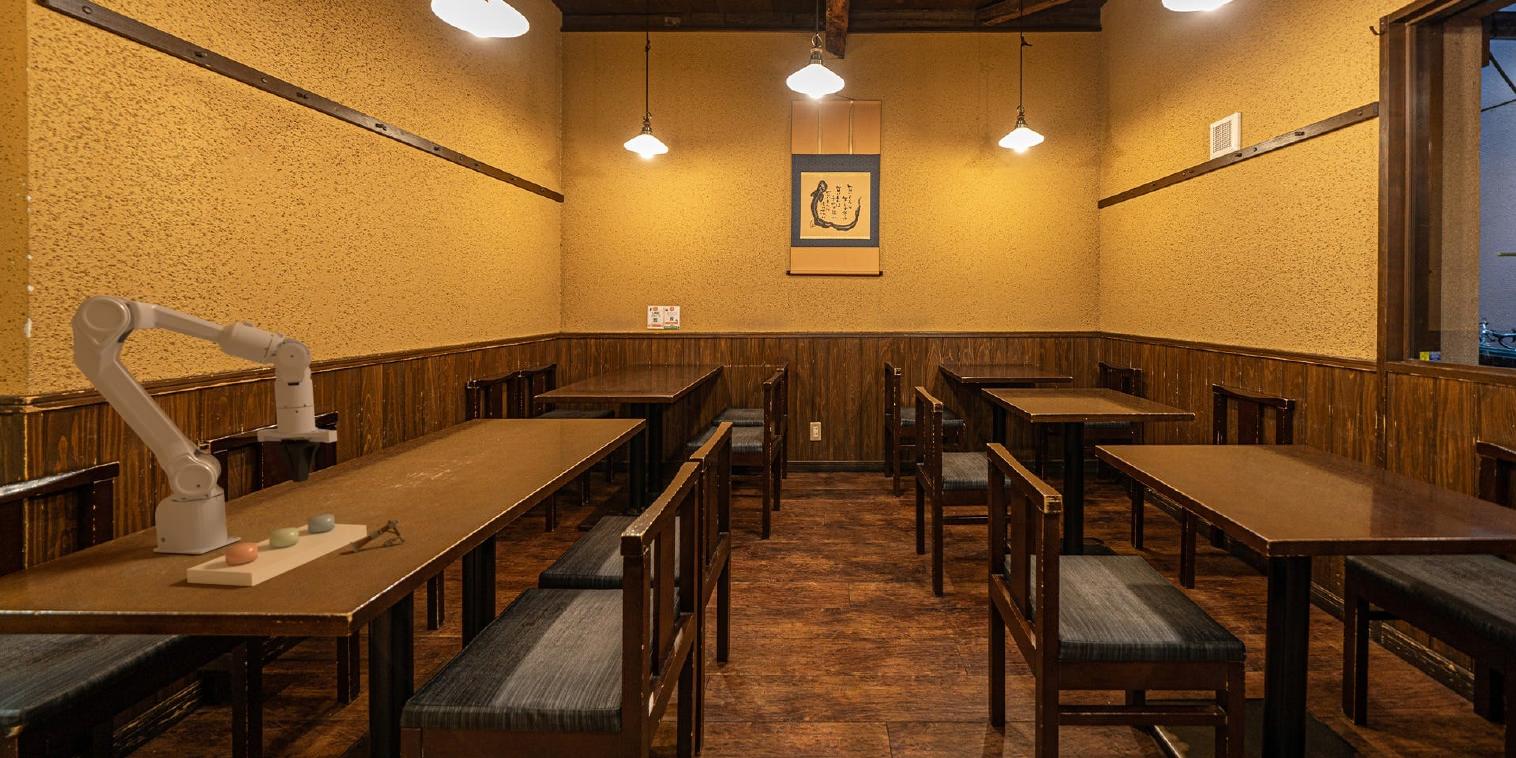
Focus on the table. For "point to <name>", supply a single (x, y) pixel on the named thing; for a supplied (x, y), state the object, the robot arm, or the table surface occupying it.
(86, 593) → the table surface
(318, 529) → the slate button
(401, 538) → the wooden post with brackets
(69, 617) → the table surface
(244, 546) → the orange rounded dome
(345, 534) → the button panel
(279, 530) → the sage button
